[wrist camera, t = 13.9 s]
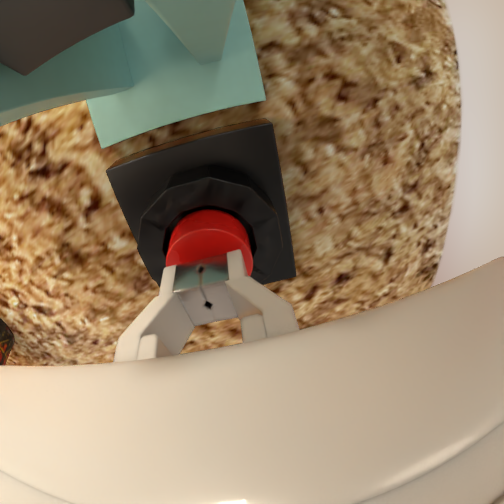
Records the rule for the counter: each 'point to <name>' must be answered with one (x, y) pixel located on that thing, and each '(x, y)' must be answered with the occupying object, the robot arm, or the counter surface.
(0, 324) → the deodorant
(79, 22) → the switch lever
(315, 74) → the counter surface
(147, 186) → the control block
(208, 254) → the button
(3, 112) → the switch bracket
